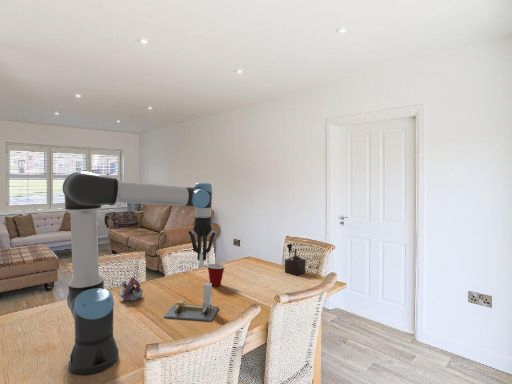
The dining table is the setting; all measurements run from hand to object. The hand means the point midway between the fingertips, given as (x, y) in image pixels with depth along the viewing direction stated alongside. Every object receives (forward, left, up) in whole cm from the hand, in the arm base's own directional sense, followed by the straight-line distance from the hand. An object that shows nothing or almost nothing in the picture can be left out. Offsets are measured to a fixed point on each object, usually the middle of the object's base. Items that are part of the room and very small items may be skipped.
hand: (201, 266), depth 145 cm
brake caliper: (+11, +40, -22) cm, 47 cm away
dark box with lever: (+73, -43, -22) cm, 87 cm away
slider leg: (0, -3, -21) cm, 21 cm away
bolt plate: (0, +4, -22) cm, 22 cm away
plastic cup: (+38, +2, -22) cm, 44 cm away
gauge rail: (0, +4, -22) cm, 22 cm away
